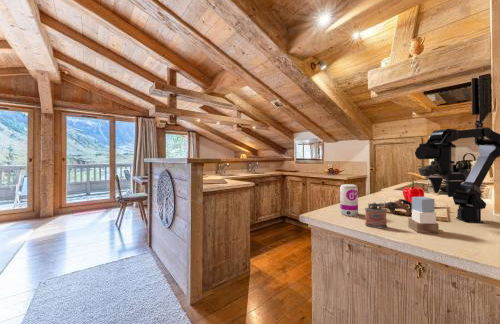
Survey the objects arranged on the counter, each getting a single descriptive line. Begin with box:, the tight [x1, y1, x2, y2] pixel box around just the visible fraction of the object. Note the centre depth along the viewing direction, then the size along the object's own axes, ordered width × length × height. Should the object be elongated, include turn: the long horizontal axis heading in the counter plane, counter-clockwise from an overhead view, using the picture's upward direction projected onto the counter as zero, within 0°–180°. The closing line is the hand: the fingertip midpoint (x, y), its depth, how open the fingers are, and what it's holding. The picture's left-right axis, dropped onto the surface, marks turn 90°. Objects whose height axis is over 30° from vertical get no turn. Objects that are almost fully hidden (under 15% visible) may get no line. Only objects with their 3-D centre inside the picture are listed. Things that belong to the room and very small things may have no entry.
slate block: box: [411, 196, 436, 213], centre depth 87 cm, size 5×5×5 cm
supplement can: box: [339, 183, 359, 217], centre depth 112 cm, size 8×8×15 cm
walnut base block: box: [407, 217, 440, 235], centre depth 87 cm, size 7×7×4 cm
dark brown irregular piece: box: [386, 198, 412, 217], centre depth 110 cm, size 12×10×8 cm
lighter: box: [364, 201, 388, 229], centre depth 93 cm, size 8×3×10 cm, turn 70°
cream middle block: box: [411, 209, 437, 224], centre depth 86 cm, size 6×6×4 cm
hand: (442, 194), depth 95 cm, fingers open, 9 cm apart
